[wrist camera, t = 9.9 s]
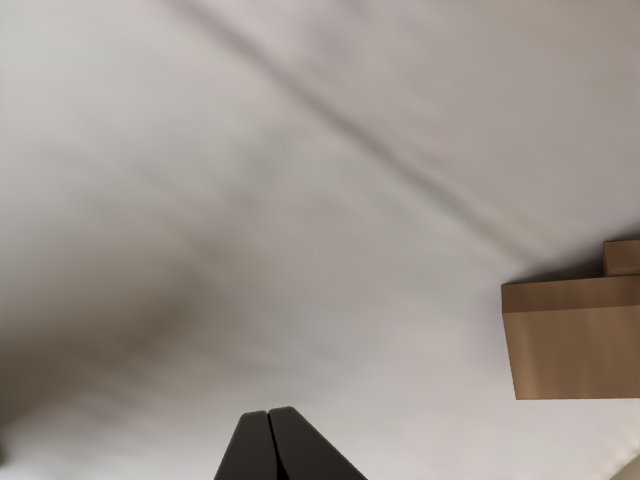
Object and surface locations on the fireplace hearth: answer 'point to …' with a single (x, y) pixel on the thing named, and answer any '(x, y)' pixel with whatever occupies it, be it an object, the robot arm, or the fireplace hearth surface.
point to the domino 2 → (621, 258)
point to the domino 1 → (574, 338)
